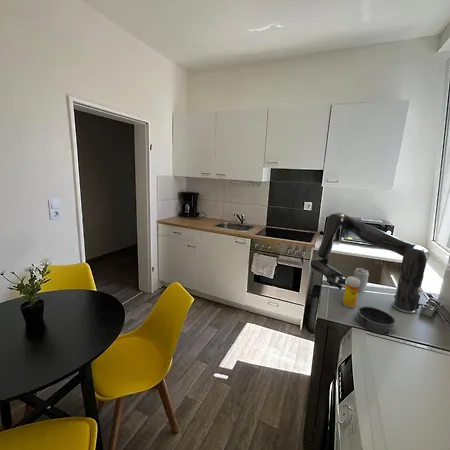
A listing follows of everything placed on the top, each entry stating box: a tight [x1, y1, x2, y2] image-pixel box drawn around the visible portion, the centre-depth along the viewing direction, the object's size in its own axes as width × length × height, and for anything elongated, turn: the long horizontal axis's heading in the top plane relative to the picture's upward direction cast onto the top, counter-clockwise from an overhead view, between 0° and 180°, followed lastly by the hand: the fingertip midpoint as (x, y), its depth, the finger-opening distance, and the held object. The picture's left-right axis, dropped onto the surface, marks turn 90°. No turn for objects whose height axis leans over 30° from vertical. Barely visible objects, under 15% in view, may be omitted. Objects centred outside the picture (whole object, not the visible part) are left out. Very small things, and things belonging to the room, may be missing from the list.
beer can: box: [342, 275, 360, 309], centre depth 126 cm, size 6×6×15 cm
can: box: [353, 267, 370, 292], centre depth 146 cm, size 8×8×12 cm
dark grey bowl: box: [355, 306, 396, 335], centre depth 112 cm, size 15×15×4 cm
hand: (348, 287), depth 128 cm, fingers open, 8 cm apart
